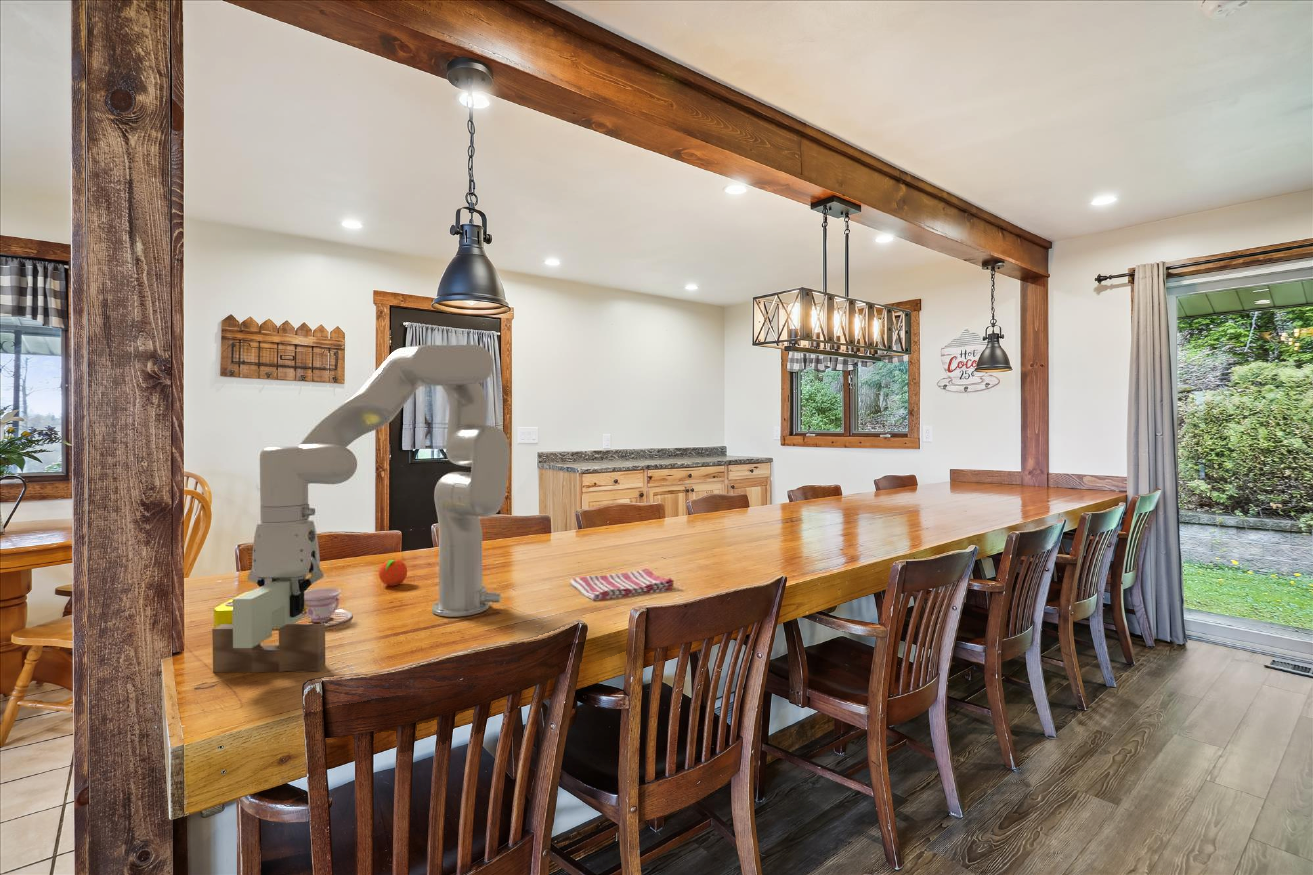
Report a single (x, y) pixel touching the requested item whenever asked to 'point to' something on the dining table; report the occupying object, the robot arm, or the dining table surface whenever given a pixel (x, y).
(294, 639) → the walnut upright plate
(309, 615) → the teacup
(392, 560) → the clementine
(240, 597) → the sage cross-piece
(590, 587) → the dish towel
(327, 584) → the dining table surface
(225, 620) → the element tile
